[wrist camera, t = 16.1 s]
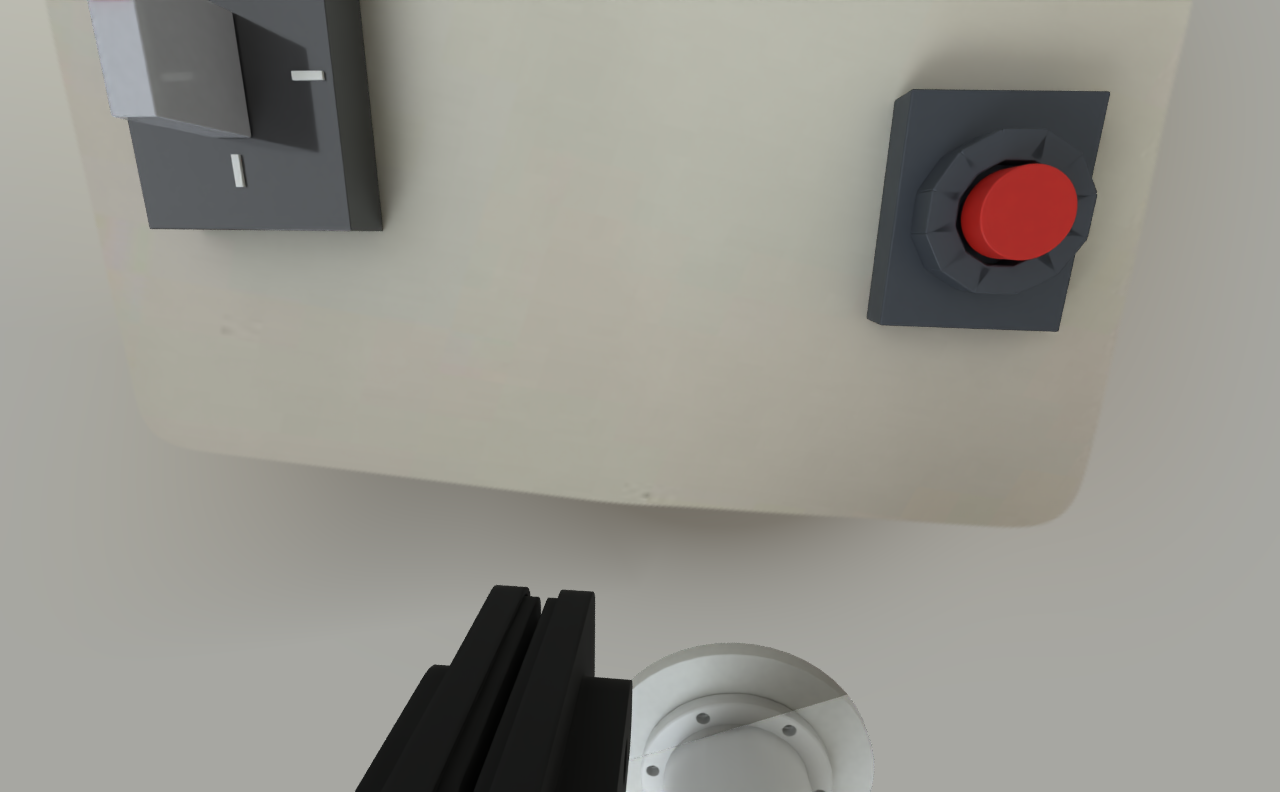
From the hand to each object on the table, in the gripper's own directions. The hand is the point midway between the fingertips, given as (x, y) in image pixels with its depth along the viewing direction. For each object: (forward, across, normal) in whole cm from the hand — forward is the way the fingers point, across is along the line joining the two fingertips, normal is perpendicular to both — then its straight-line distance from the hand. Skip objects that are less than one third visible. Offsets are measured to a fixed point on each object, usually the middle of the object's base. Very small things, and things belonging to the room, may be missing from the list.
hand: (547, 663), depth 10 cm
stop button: (+19, -15, -8) cm, 25 cm away
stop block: (+22, -15, -8) cm, 28 cm away
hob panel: (+22, +19, -13) cm, 32 cm away
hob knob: (+19, +19, -13) cm, 30 cm away
